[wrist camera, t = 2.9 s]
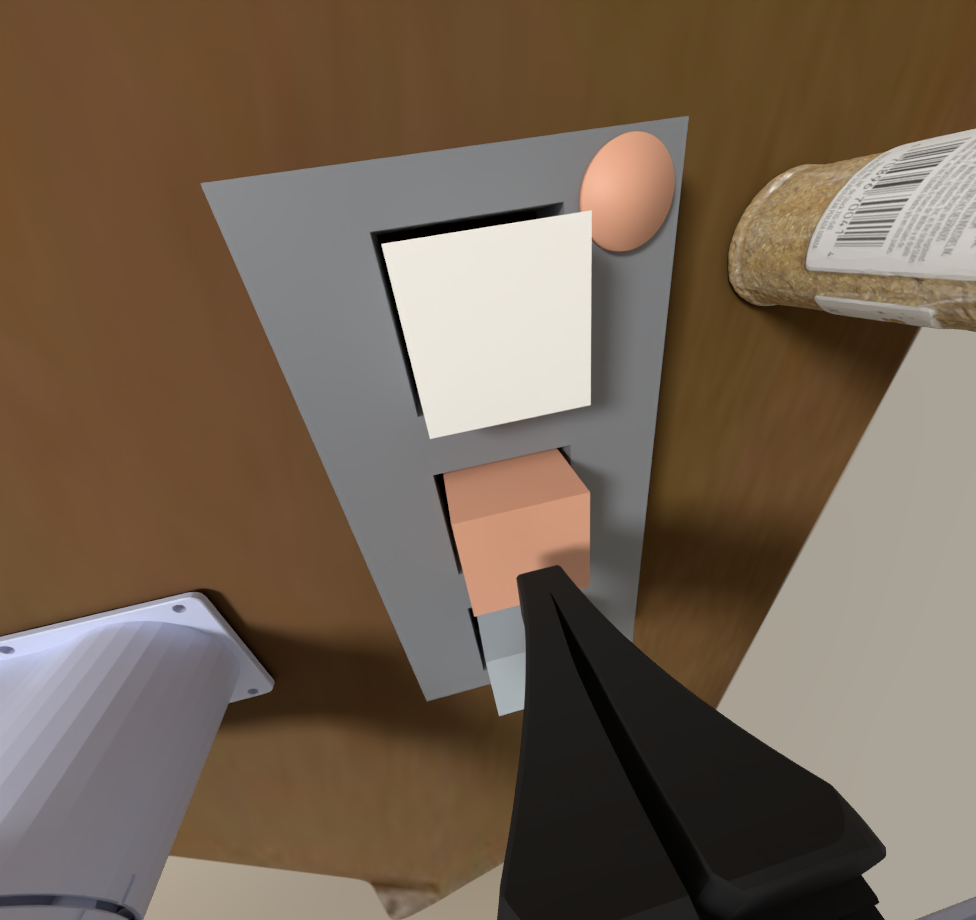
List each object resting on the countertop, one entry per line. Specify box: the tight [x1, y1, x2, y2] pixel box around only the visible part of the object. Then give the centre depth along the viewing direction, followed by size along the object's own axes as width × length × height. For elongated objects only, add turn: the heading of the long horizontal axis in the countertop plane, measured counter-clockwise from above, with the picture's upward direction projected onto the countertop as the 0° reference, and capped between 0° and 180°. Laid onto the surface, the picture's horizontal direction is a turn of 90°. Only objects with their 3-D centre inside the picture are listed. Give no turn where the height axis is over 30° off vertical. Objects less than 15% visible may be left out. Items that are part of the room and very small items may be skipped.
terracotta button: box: [443, 448, 590, 617], centre depth 14 cm, size 4×4×3 cm
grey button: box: [477, 605, 526, 716], centre depth 18 cm, size 4×4×3 cm
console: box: [200, 116, 689, 701], centre depth 16 cm, size 12×23×3 cm, turn 8°
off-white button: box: [381, 210, 592, 439], centre depth 10 cm, size 4×4×3 cm
